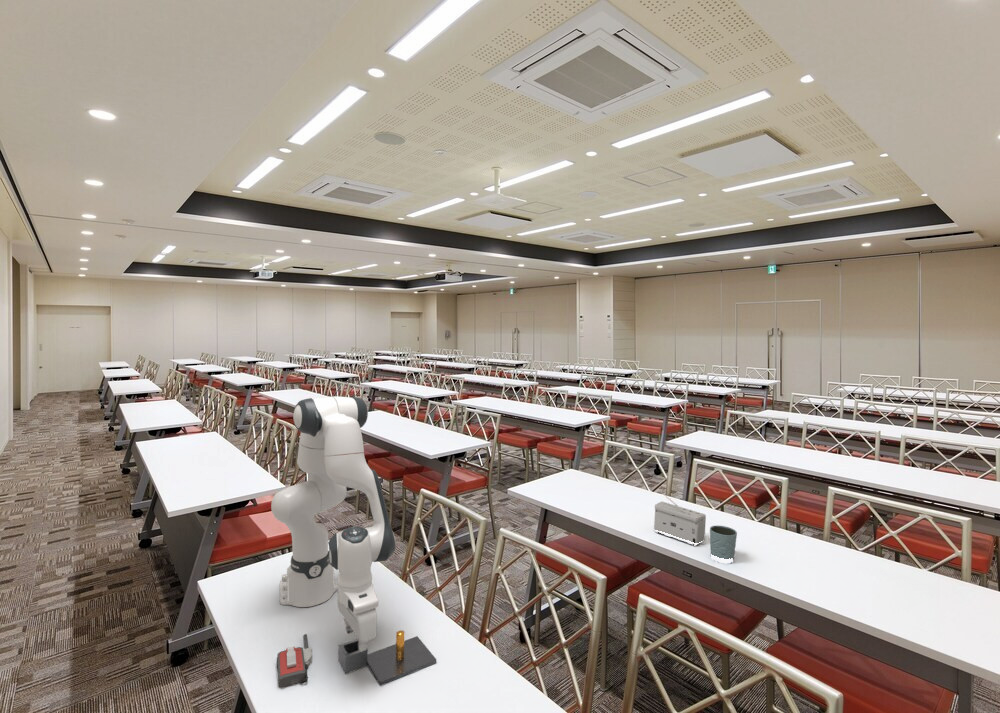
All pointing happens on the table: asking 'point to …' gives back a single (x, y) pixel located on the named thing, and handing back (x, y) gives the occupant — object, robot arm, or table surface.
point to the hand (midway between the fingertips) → (355, 640)
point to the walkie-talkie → (294, 665)
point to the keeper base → (399, 667)
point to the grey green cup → (722, 541)
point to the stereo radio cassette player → (679, 521)
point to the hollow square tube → (352, 656)
